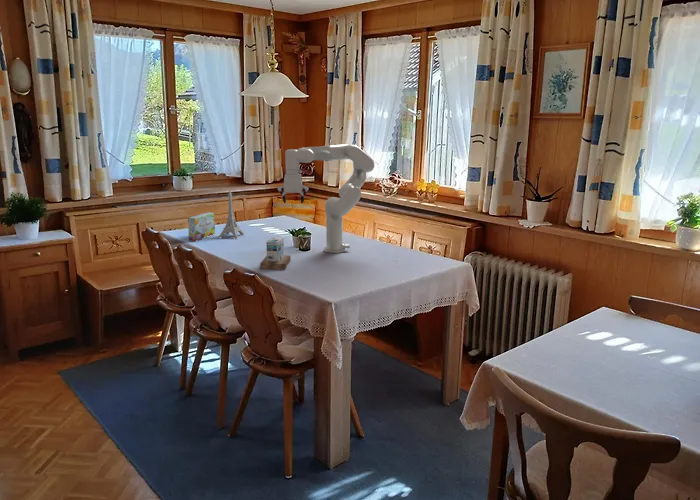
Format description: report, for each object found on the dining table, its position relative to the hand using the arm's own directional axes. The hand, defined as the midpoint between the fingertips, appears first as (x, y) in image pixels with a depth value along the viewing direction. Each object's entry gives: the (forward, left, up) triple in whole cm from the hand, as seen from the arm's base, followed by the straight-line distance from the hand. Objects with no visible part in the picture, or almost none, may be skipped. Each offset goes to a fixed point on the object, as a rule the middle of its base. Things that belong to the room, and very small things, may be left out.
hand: (293, 202), depth 311 cm
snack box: (+66, -36, -31) cm, 81 cm away
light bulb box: (+7, +21, -27) cm, 35 cm away
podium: (+7, +21, -30) cm, 37 cm away
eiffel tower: (+48, -42, -31) cm, 71 cm away
